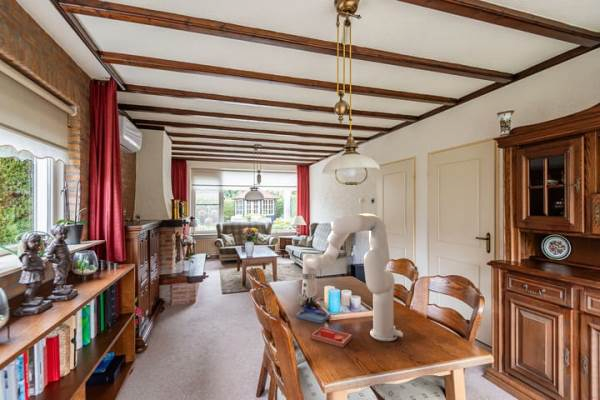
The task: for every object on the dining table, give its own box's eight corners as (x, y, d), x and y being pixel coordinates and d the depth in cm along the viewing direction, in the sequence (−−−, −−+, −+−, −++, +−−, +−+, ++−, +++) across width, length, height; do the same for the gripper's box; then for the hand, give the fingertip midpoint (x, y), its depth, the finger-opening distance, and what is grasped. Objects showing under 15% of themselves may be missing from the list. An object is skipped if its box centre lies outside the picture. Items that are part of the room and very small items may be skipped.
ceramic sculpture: (295, 289, 183) (316, 288, 187) (294, 302, 183) (316, 301, 187) (299, 294, 173) (322, 293, 177) (298, 308, 173) (321, 307, 177)
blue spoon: (302, 310, 160) (302, 306, 160) (306, 308, 164) (306, 304, 164) (319, 315, 155) (319, 310, 155) (322, 313, 158) (322, 308, 158)
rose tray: (351, 338, 133) (351, 334, 133) (343, 347, 124) (343, 343, 124) (321, 330, 141) (321, 326, 142) (311, 338, 133) (311, 334, 133)
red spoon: (319, 336, 134) (319, 331, 134) (323, 333, 137) (323, 328, 137) (340, 342, 128) (340, 336, 128) (343, 339, 132) (343, 333, 132)
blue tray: (330, 317, 159) (330, 313, 159) (321, 323, 150) (321, 320, 150) (305, 311, 167) (305, 308, 167) (296, 317, 159) (296, 314, 159)
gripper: (308, 280, 152) (307, 314, 152) (321, 274, 165) (321, 305, 165) (296, 278, 156) (296, 311, 156) (310, 272, 169) (310, 303, 169)
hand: (309, 308), depth 160 cm, fingers closed on blue spoon, 1 cm apart
